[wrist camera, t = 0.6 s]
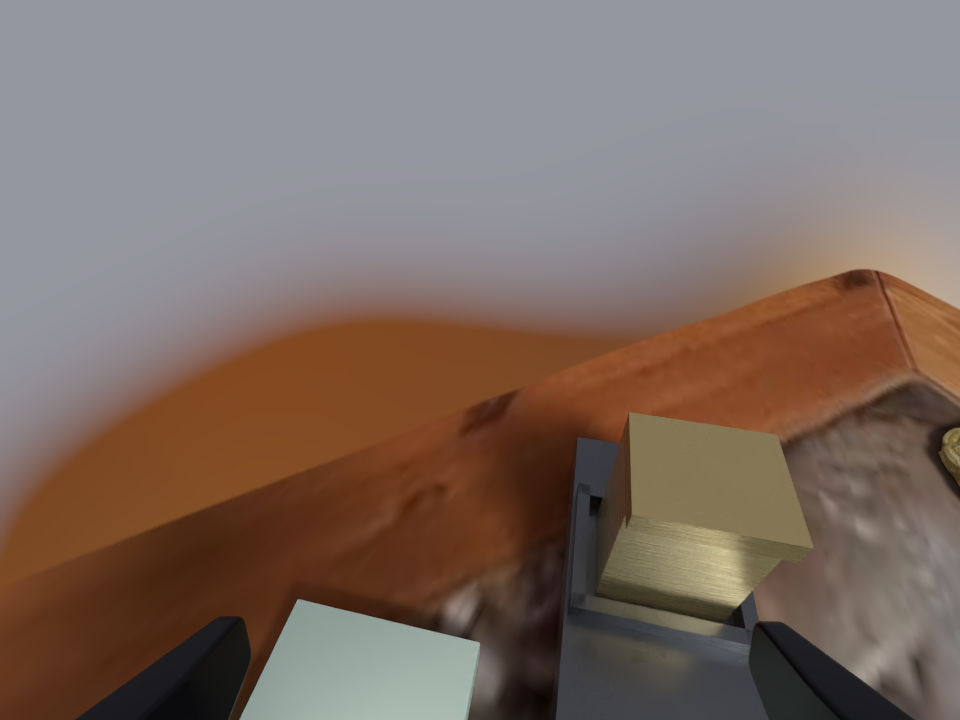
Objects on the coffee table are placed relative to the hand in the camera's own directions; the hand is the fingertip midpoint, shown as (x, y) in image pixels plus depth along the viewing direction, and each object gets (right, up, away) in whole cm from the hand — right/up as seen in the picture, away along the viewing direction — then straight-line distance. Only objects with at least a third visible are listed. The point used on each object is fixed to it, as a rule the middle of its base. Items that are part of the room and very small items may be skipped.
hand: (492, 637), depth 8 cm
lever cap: (+8, -5, +14) cm, 17 cm away
